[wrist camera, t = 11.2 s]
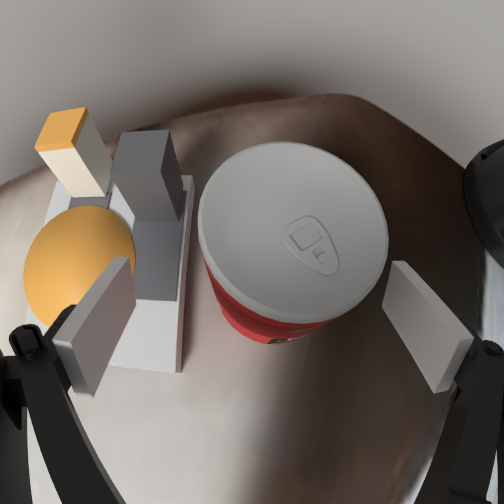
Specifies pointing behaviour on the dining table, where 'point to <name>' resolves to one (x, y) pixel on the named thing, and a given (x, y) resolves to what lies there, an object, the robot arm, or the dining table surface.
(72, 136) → the lever
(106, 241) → the orange knob base plate
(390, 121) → the dining table surface
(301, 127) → the dining table surface
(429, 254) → the dining table surface
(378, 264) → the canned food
